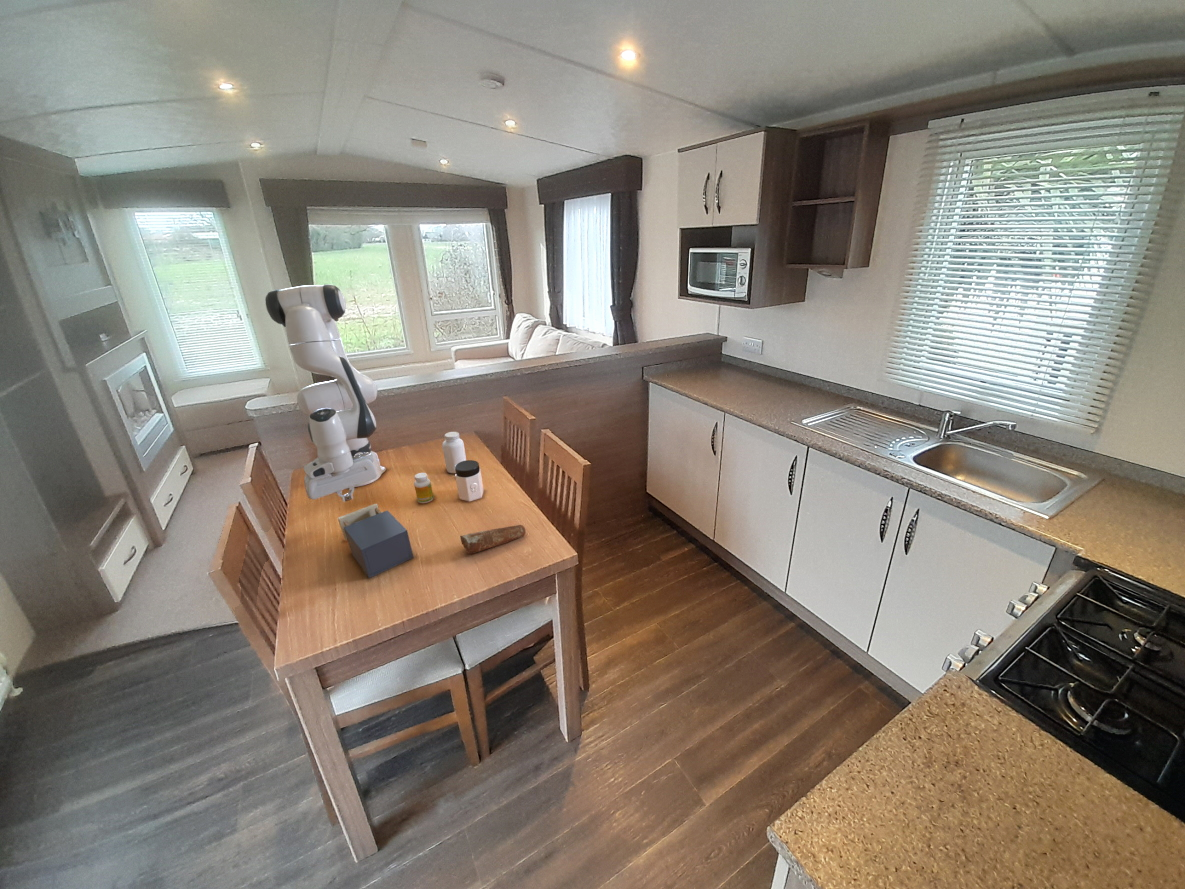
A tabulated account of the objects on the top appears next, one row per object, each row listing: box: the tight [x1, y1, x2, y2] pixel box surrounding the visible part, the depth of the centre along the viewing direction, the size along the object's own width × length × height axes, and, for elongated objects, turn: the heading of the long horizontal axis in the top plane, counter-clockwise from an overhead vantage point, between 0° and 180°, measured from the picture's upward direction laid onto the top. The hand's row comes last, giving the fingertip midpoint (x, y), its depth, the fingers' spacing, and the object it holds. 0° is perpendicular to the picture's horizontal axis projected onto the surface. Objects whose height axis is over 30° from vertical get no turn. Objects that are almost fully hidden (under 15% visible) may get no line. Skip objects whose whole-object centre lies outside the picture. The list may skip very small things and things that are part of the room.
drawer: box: [337, 503, 382, 541], centre depth 144 cm, size 18×11×8 cm, turn 42°
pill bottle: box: [441, 431, 467, 474], centre depth 184 cm, size 8×8×15 cm
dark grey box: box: [344, 509, 414, 579], centre depth 137 cm, size 15×13×10 cm
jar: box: [454, 459, 484, 503], centre depth 166 cm, size 9×8×12 cm
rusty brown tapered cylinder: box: [459, 524, 527, 554], centre depth 141 cm, size 6×19×6 cm, turn 115°
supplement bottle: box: [413, 472, 434, 504], centre depth 165 cm, size 5×5×10 cm
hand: (347, 500), depth 151 cm, fingers closed
